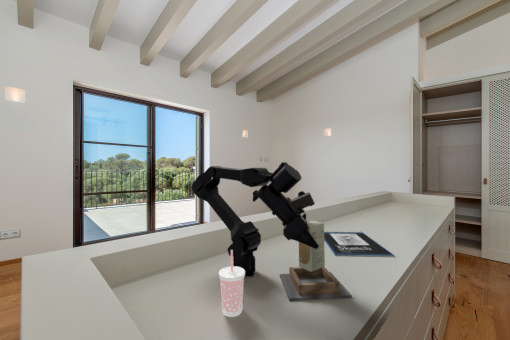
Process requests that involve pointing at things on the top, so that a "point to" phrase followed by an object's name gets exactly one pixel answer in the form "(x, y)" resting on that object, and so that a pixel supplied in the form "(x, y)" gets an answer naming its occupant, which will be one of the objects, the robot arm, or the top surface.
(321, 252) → the skincare box
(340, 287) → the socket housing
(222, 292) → the beverage cup
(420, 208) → the top surface
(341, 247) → the sketchbook
